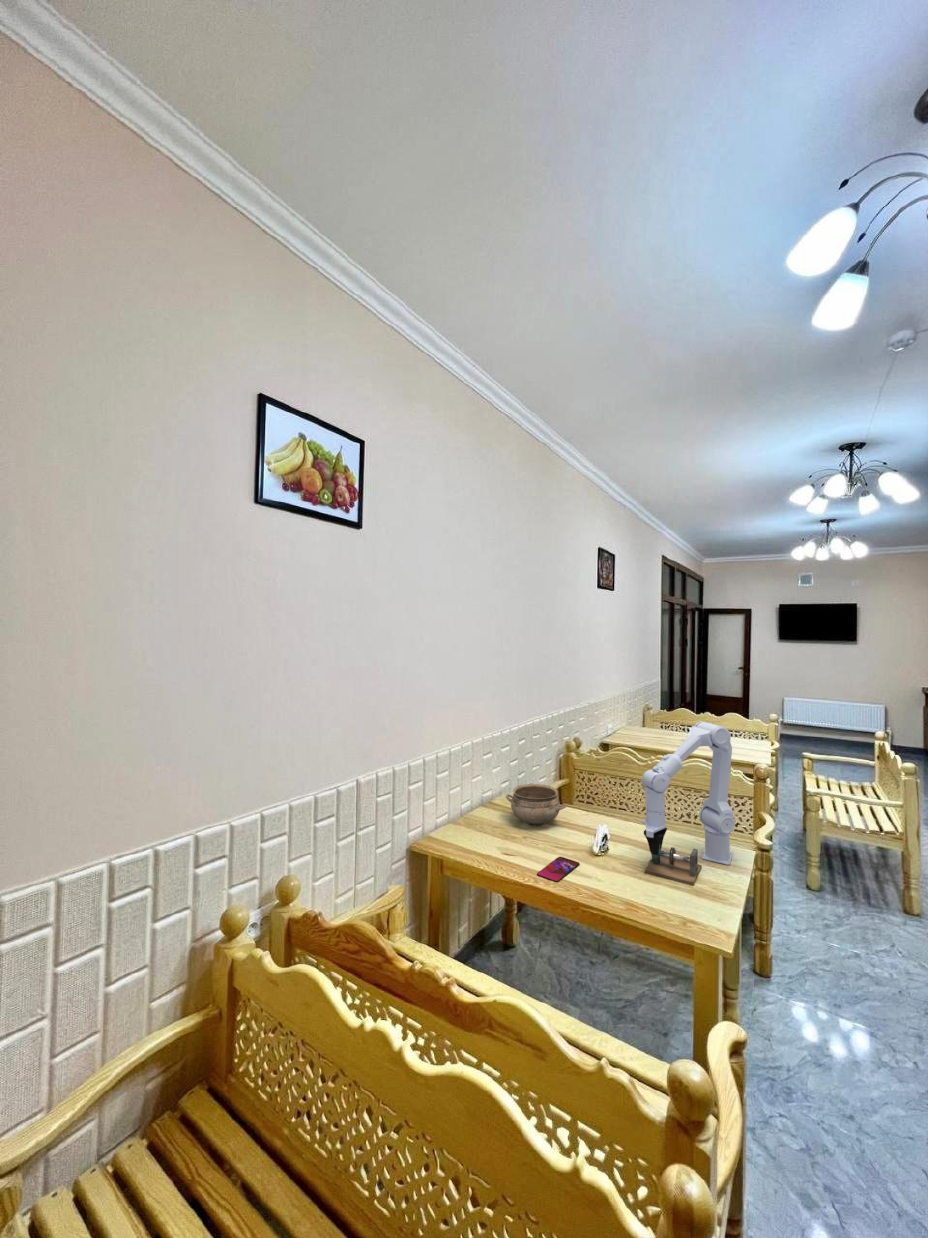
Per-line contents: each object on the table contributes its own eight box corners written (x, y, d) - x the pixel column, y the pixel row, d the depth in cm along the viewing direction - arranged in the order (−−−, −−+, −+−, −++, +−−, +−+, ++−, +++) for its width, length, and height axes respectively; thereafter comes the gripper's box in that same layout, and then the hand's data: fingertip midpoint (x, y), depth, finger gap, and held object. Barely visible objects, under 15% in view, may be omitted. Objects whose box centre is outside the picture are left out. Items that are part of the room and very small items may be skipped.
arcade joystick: (653, 857, 163) (653, 834, 163) (691, 866, 157) (691, 842, 157) (649, 863, 159) (649, 839, 159) (688, 873, 153) (687, 848, 153)
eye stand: (655, 857, 167) (655, 835, 167) (701, 868, 159) (701, 845, 159) (644, 873, 156) (644, 849, 156) (693, 886, 148) (693, 861, 148)
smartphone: (535, 873, 156) (559, 855, 167) (535, 876, 156) (559, 858, 167) (557, 882, 151) (580, 862, 162) (557, 885, 151) (580, 865, 162)
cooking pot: (574, 820, 198) (574, 789, 199) (557, 838, 182) (557, 804, 182) (516, 809, 211) (516, 779, 211) (495, 824, 195) (495, 793, 195)
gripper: (648, 800, 169) (648, 841, 169) (635, 814, 157) (636, 858, 157) (670, 804, 165) (671, 846, 165) (659, 818, 153) (660, 863, 153)
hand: (655, 852), depth 160 cm, fingers closed on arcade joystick, 3 cm apart
